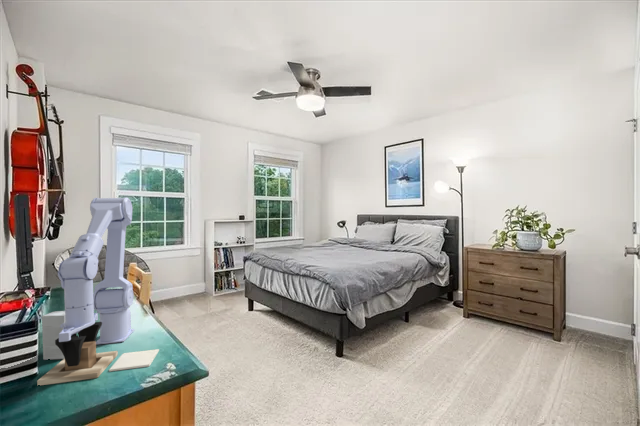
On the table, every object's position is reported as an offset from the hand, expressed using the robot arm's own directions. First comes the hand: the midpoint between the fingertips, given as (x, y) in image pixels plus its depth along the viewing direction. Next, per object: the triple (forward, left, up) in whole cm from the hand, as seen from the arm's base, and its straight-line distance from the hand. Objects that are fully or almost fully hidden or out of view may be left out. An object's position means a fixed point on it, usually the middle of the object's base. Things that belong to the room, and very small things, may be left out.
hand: (81, 358), depth 77 cm
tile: (-1, +12, -3) cm, 12 cm away
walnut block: (0, 0, -3) cm, 3 cm away
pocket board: (0, 0, -3) cm, 3 cm away
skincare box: (-10, -10, -3) cm, 14 cm away
